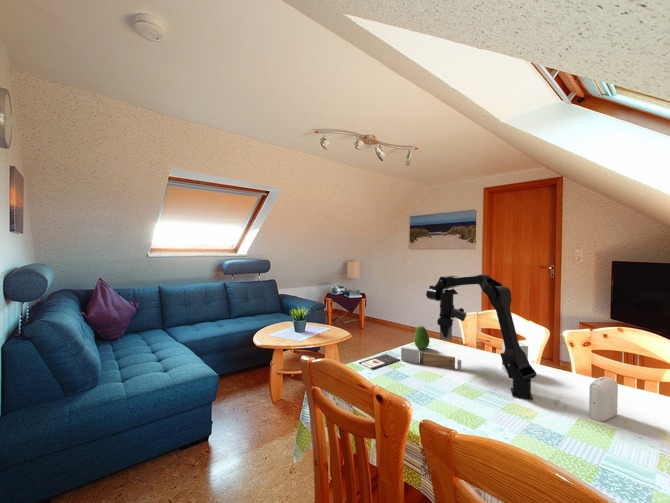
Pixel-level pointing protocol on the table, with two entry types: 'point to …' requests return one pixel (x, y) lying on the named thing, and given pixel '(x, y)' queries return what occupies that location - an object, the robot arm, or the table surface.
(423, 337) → the fruit
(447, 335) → the block
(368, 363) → the chocolate bar
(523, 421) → the table surface
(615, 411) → the photo printer
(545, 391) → the table surface
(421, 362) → the oak door
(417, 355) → the frame
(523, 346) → the supplement box
